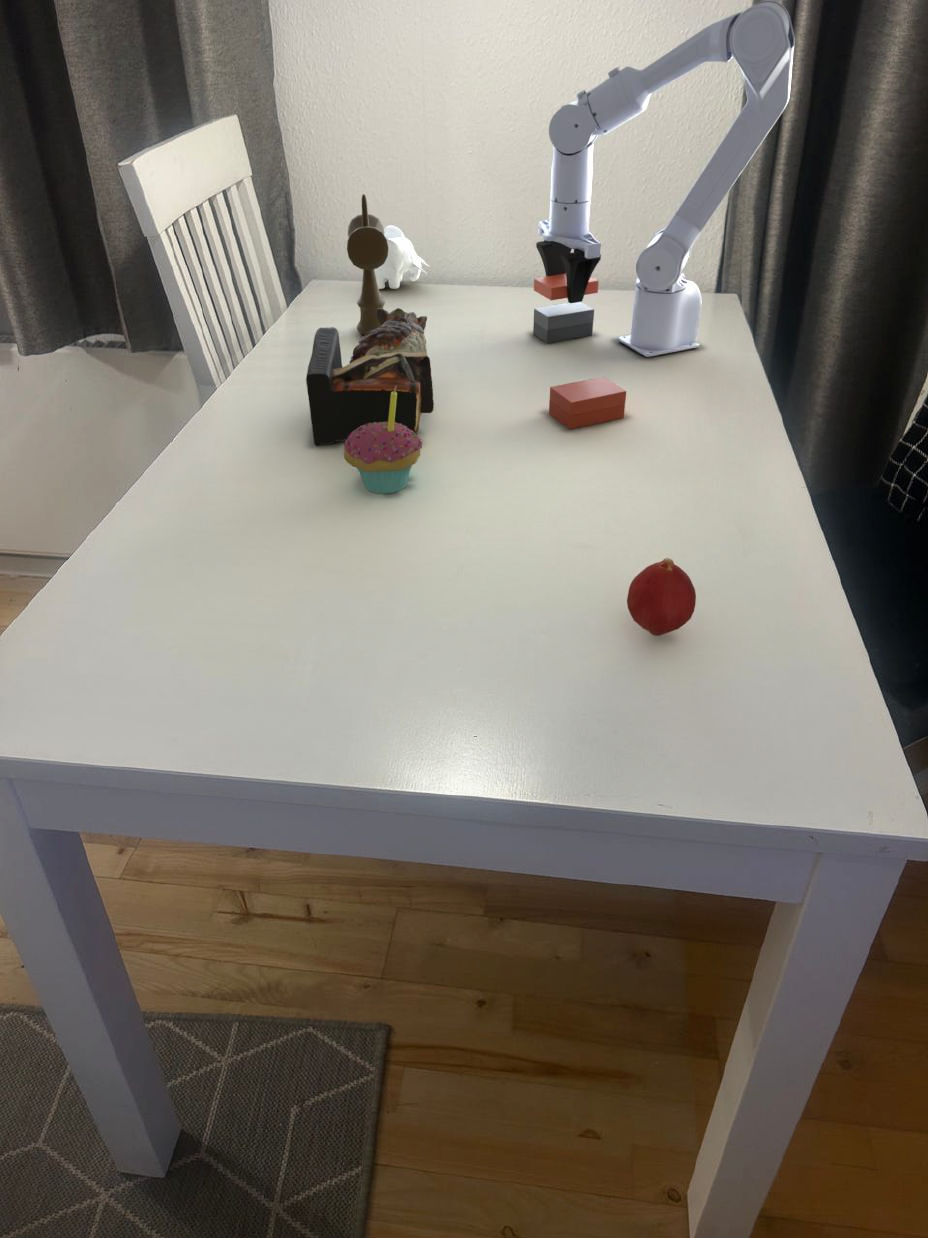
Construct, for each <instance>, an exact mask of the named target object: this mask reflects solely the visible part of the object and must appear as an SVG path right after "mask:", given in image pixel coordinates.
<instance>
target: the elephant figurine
mask: <svg viewBox="0 0 928 1238" xmlns="http://www.w3.org/2000/svg"><path fill="white" fill-rule="evenodd" d="M384 236H385V237H386V239H387V243H388V247H389V248H388V257H387V259H386V261H385V263H384V264H383V265H382V266H380V267H379V268H377V269H374V270H375V275H376V280H377V284H378V289H379V290H383V289H385V287H386V283H387V282H388V287H389V288H390V289H393V290H397V289H399V288H400V286H401V282H402V281H403V275H404V274H405V273H406V272H409V275H408V277H407V278H408V280H409V281H412V282H416V281H417V280H419V278H420V275H421V272H422V273H424V274H427V275H428V272H427V271H426V270H424V269H423V268H422V264H423V265H424V266H427V267H430V265H429V264H428V263H427V262H426V261H425V260H424V259H422V257H420V256H419V255H417V252H416V251H415V248H414V245H413V243H412V241H410V240H409V239H408V238H407V237H405V235H404V232H403V231H402V230H401V228H399V227H397V226H396V225H391V224H390V225H387V226H385V227H384Z"/></svg>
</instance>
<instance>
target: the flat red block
mask: <svg viewBox="0 0 928 1238" xmlns="http://www.w3.org/2000/svg"><path fill="white" fill-rule="evenodd" d="M533 279H534V280H533V291H534V292H536V293H537V294H539V295H541V296H542V297H544V298H545V299H548V300H550V301H557V300H564V299H568V296H567V278H566V273H565V274H559V275H552V276H546V275H545V276H539V277H534V278H533ZM599 283H600V281H599V280H598V279H596V278H594V277H592V276H591V277H590V279H589V282H588V285H587V288H586V291H585V294H584V296H586V295H593V294H598V293H599Z"/></svg>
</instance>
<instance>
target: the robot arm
mask: <svg viewBox="0 0 928 1238" xmlns="http://www.w3.org/2000/svg"><path fill="white" fill-rule="evenodd" d="M795 43H796V37H795V32H794V29H793V24H792V19H791V16H790V14H789V11H788V10H787V8H786V7H785V6H784V5H783V4H782V3H781V2H778V1H776V0H762V1H758V2H756V3H754V4H753V5H751V6H750V7H748V8H746V9H745V10H742V11H739V12H736V13H734V14H731V15H730V16H727V17H725V18H722V19H720V20H718V21H716V22H713V23H711V24H709V25H707V26H705V27H704V28H703V29H701V30H699V31H698V32H697V33H695V34H694V35H692V36H690V37H689V38H688V39H686V40H685V41H684V42H681V43H680V44H678V45H677V46H676V47H675V48H673V49H671V50H670V51H668V52H667V53H665V54H663V56H661V57H659V58H658V59H656V60H655V61H653V62H652V63H651V64H649V65H647V66H646V67H644V68H643V69H638V68H635V67H631V66H625V67H624V68H622V69H621V68H620V67H619V66H616V67H614V68H613V69H612V70H610V71H608V72H607V75H608V78H606V79H605V80H603V81H602V82H600V83H598V84H597V85H596V86H594V87H593V88H591V89H589V90H588V91H586V90H585V89H583V90H581V91H579V92H578V93H577V94H576V98H577V100H575V101H572V102H570V103H568V104H567V103H566V104H563V105H562V106H561V107H560V108H559V109H558V110H557V111H556V112H555V113H554V114H553V116H552V117H551V120H550V122H549V125H548V136H549V140H550V142H551V144H552V163H551V174H550V175H551V177H550V197H549V198H550V202H549V203H550V204H549V219H548V220H547V219H546V220H540V221H538V235H539V236H541V239H542V241H541V240H540V241H537V242H536V243H535V248H536V250H537V251H538V254H539V256H540V258H541V261H542V264H543V268H544V273H545V277H546V276H552V275H559V274H565V273H566V278H567V296H568V298H567V303H577V302H582V303H583V301H584V298H585V295H584V294H585V291H586V288H587V285H588V282H589V279H590V277H592V274H593V272H594V271H595V269H596V267H597V266H598V264H599V263H600V261H601V259H602V254H601V250H602V249H601V248H602V243H601V242H600V241H598V240H597V239H596V238H595V237H594V235H593V234H592V233H591V232H590V230H589V229H590V216H591V203H592V186H593V173H594V163H593V159H594V147H595V146H594V142H595V141H596V140H597V138H598V136H605V135H608V134H609V133H610V132H612V131H613V130H615V129H617V128H619V127H620V126H623V125H624V124H625V123H627V122H628V121H630V120H632V119H634V118H635V117H637V116H638V115H640V114H642V113H644V112H645V111H646V110H647V108H648V104H649V101H650V98H651V96H652V94H654V93H656V92H657V91H659V90H661V89H663V88H664V87H666V86H667V85H669V84H671V83H673V82H674V81H676V80H678V79H679V78H682V77H683V76H685V75H686V74H688V73H690V72H691V71H693V70H695V69H697V68H698V67H700V66H702V65H704V64H706V63H721V64H723V63H724V64H726V63H729V62H730V61H731V60H732V59H733V58H734V60H735V62H736V65H737V66H738V68H739V69H740V71H741V73H742V75H743V82H744V89H745V94H746V99H747V100H746V103H745V105H744V106H743V108H742V109H741V111H740V112H739V114H738V115H737V117H736V118H735V120H734V122H733V123H732V125H731V126H730V128H729V129H728V131H727V132H726V134H725V136H724V137H723V138H722V140H721V141H720V144H719V145H718V146H717V148H716V149H715V151H714V153H713V154H712V156H711V158H710V159H709V160H708V162H707V163H706V165H705V166H704V168H703V170H701V172H700V174H699V176H698V177H697V178H696V180H695V182H694V184H693V185H692V187H691V188H690V189H689V191H688V193H687V194H686V196H685V198H684V199H683V201H682V202H681V204H680V205H679V207H678V208H677V210H676V211H675V213H674V214H673V216H672V218H671V219H670V220H669V222H667V223H668V224H667V225H666V227H665V228H663V229H661V230H659V231H658V232H656V233H655V234H654V235H653V236H652V238H651V239H650V241H649V243H648V245H647V246H646V247H645V248H644V249H643V250H642V251H641V252H640V254H639V255H638V257H637V259H636V263H635V271H636V272H635V273H636V277H637V278H636V280H635V286H634V287H635V288H634V299H633V308H632V316H631V327H630V334H628V335H623V336H619V337H618V338H617V340H618V341H619V342H620V343H622V344H623V345H625V346H627V347H629V348H631V349H632V350H634V351H635V352H637V353H639V354H640V355H643V356H644V357H646V358H650V357H655V356H660V355H666V354H671V353H676V352H681V351H686V350H692V349H696V348H699V347H700V343H698V342H697V338H698V332H699V326H700V325H699V324H700V317H701V311H702V304H703V303H702V302H703V301H702V294H701V290H700V288H699V287H698V285H697V283H696V282H694V281H692V280H687V279H686V276H685V273H683V270H684V268H686V266H687V265H688V263H689V261H690V259H691V255H692V249H693V245H694V244H695V242H696V240H697V239H698V238H699V237H700V235H701V233H702V232H703V230H704V229H705V228H706V226H707V224H708V223H709V221H710V220H711V219H712V218H713V216H714V214H715V213H716V211H717V209H718V207H720V205H721V204H722V202H723V201H724V199H725V198H726V196H727V195H728V193H729V192H730V190H731V189H732V188H733V186H734V185H735V183H736V181H737V180H738V178H739V177H740V175H741V174H742V173H743V171H744V170H745V169H746V167H747V165H748V164H749V163H750V161H751V159H752V158H753V157H754V155H755V154H756V152H757V150H758V149H759V148H760V146H761V145H762V143H763V141H764V140H765V139H766V137H767V136H768V135H769V132H771V130H772V128H773V127H774V126H775V124H776V123H777V121H778V120H779V118H780V117H781V115H782V114H783V112H784V111H785V109H786V107H787V105H788V104H789V101H790V98H791V97H790V96H791V85H792V75H793V64H794V63H793V61H794V52H795ZM572 250H573V252H572Z"/></svg>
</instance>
